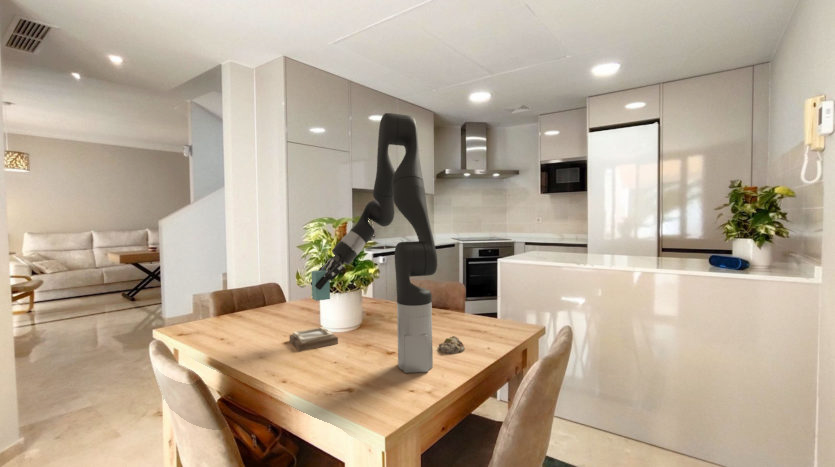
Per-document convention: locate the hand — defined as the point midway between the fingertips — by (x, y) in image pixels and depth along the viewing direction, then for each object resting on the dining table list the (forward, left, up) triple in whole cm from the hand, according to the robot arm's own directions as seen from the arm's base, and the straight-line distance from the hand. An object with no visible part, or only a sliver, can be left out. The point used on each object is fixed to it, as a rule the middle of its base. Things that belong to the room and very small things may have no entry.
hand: (314, 286), depth 122 cm
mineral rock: (-10, -43, -18) cm, 48 cm away
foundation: (-1, +1, -18) cm, 18 cm away
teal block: (+1, -2, -4) cm, 5 cm away
